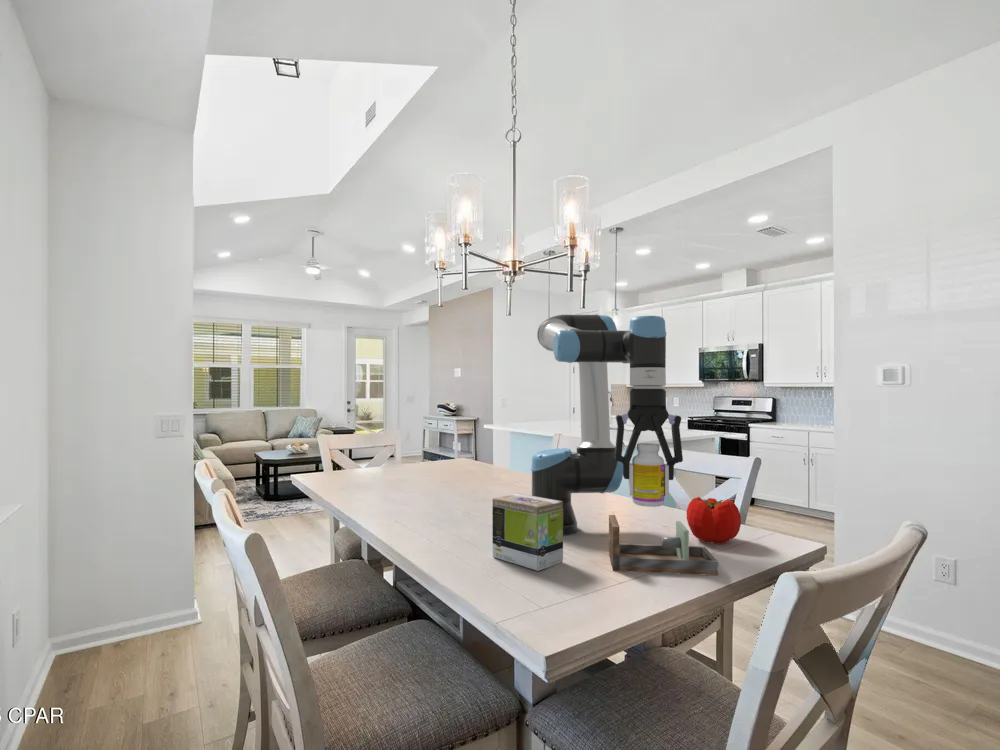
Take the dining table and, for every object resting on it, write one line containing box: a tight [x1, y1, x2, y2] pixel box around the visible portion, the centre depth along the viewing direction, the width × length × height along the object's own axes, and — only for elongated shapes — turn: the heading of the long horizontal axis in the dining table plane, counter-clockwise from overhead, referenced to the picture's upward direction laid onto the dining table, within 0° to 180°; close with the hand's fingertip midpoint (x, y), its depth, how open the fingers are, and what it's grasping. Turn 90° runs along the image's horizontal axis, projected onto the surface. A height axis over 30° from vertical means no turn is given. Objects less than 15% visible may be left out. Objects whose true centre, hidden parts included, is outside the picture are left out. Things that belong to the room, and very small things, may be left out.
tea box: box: [491, 493, 564, 572], centre depth 126 cm, size 15×10×15 cm, turn 45°
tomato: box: [686, 496, 742, 545], centre depth 142 cm, size 13×14×12 cm
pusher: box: [661, 520, 690, 559], centre depth 122 cm, size 5×9×8 cm, turn 173°
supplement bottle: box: [631, 442, 665, 508], centre depth 112 cm, size 7×7×13 cm
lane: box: [608, 514, 719, 576], centre depth 123 cm, size 23×11×10 cm, turn 83°
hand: (648, 494), depth 112 cm, fingers closed on supplement bottle, 7 cm apart
